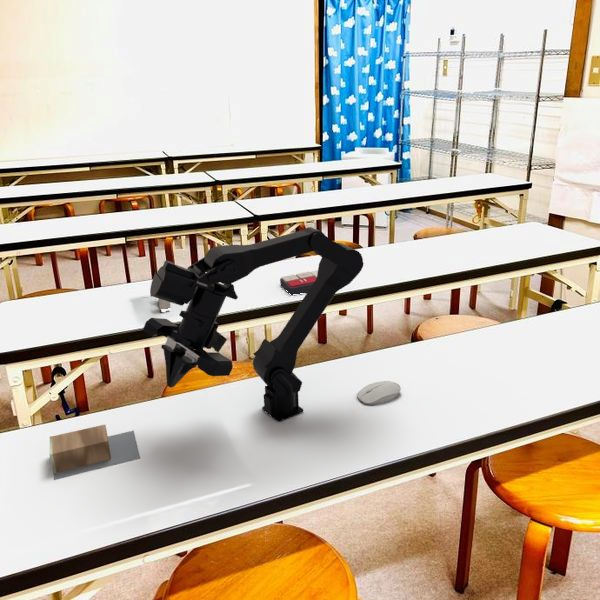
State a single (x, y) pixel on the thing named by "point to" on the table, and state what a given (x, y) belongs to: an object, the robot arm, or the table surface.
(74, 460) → the walnut block
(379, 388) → the computer mouse
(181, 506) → the table surface
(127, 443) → the felt mat
